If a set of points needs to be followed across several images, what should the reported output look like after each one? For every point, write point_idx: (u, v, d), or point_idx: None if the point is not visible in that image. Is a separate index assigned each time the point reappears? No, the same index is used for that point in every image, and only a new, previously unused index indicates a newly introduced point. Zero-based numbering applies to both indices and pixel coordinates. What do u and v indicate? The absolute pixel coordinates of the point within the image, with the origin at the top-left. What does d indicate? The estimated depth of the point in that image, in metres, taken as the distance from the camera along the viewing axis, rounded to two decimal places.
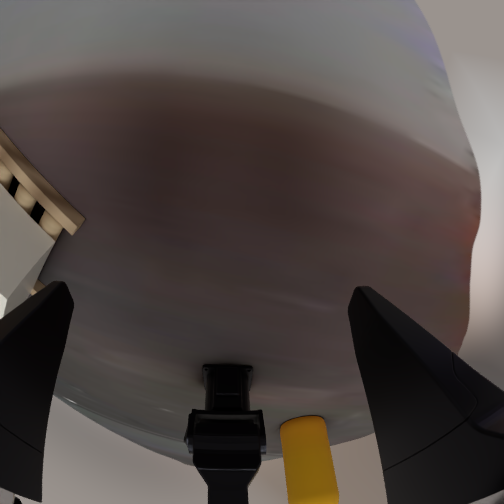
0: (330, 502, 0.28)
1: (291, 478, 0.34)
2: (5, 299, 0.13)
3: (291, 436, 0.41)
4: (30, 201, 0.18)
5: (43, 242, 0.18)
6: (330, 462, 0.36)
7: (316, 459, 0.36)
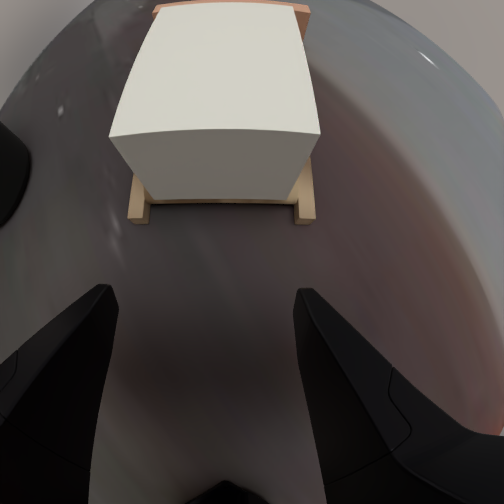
0: None
1: None
2: (316, 131, 0.10)
3: None
4: None
5: None
6: None
7: None
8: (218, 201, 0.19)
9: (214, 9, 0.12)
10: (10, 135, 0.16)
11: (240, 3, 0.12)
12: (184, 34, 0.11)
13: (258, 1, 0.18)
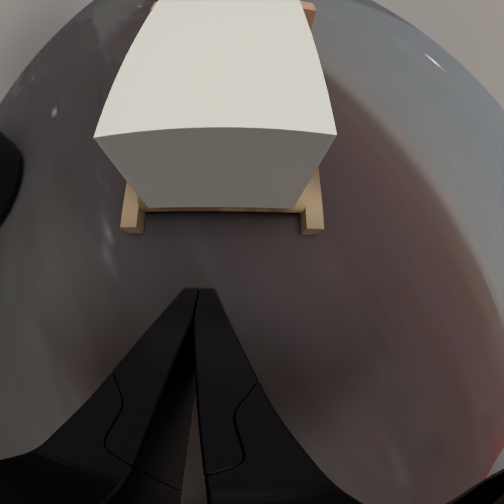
0: None
1: None
2: (332, 131, 0.09)
3: None
4: None
5: None
6: None
7: None
8: (218, 210, 0.18)
9: (215, 1, 0.11)
10: (1, 137, 0.15)
11: None
12: (182, 26, 0.10)
13: None
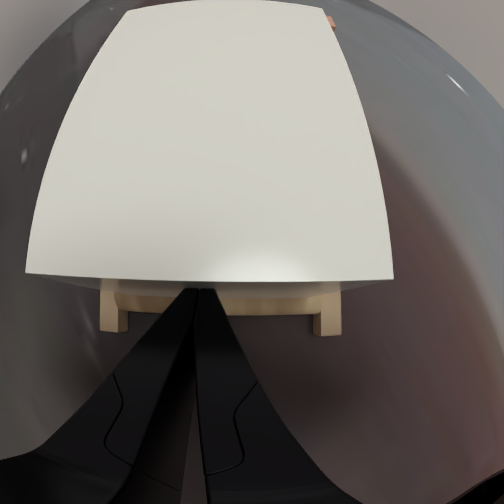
0: None
1: None
2: (387, 272, 0.06)
3: None
4: None
5: None
6: None
7: None
8: None
9: (204, 9, 0.08)
10: None
11: (244, 0, 0.08)
12: (151, 52, 0.07)
13: None
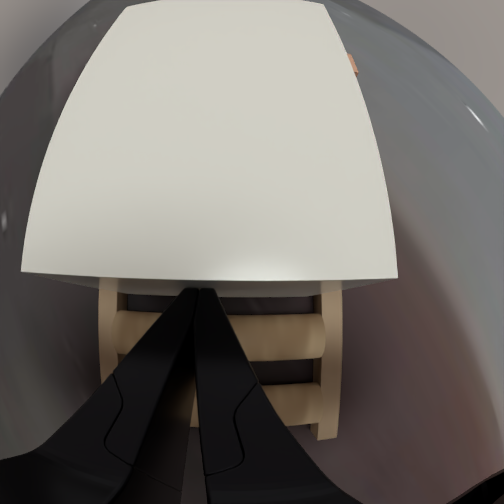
0: None
1: None
2: (392, 271, 0.05)
3: None
4: (318, 356, 0.13)
5: None
6: None
7: None
8: None
9: (204, 5, 0.07)
10: None
11: None
12: (150, 47, 0.07)
13: None
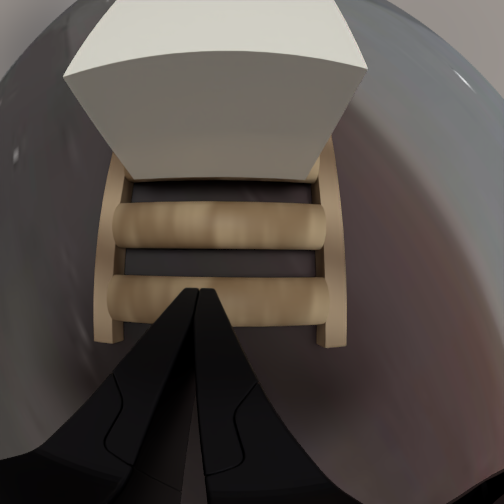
0: None
1: None
2: (362, 64, 0.06)
3: None
4: (320, 242, 0.14)
5: None
6: None
7: None
8: None
9: None
10: None
11: None
12: None
13: None
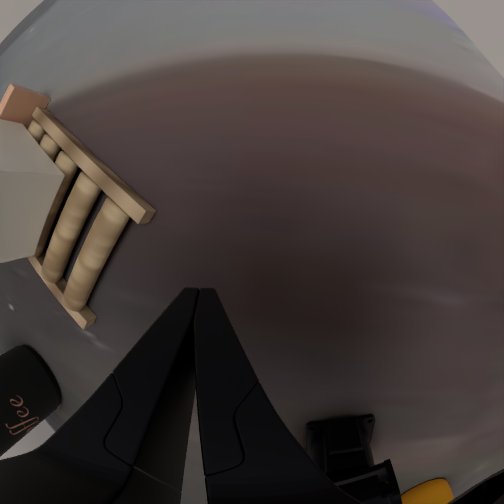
0: None
1: None
2: None
3: None
4: (91, 187, 0.19)
5: (52, 170, 0.17)
6: None
7: None
8: (100, 269, 0.20)
9: None
10: (8, 355, 0.22)
11: None
12: None
13: None
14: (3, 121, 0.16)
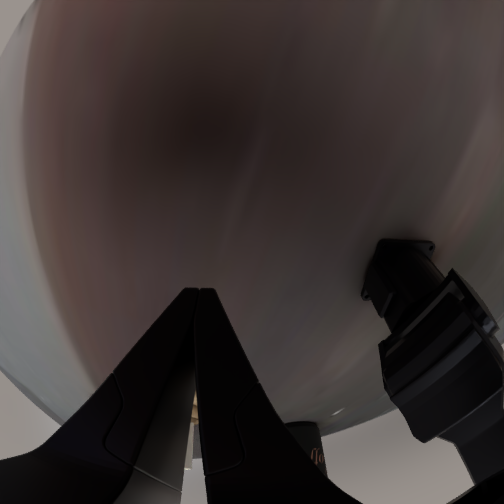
0: None
1: None
2: None
3: None
4: None
5: None
6: None
7: None
8: None
9: None
10: None
11: None
12: None
13: None
14: None
